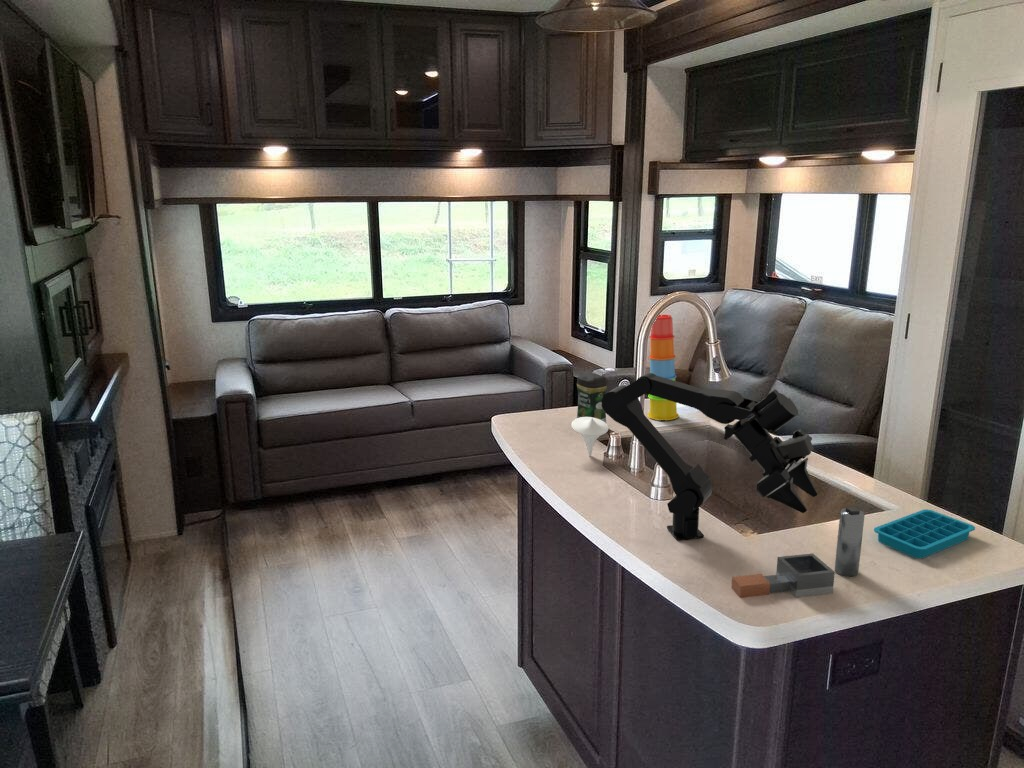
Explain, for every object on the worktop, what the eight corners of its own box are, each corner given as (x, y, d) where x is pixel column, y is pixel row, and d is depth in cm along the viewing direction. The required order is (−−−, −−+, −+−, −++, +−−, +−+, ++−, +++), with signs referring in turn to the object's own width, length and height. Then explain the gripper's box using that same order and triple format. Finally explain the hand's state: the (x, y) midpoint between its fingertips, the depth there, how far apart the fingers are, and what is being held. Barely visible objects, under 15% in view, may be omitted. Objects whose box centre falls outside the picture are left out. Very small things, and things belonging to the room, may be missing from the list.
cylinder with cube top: (830, 567, 153) (836, 505, 149) (849, 565, 153) (856, 503, 150) (842, 578, 148) (849, 514, 145) (862, 576, 149) (869, 512, 145)
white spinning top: (614, 458, 216) (615, 419, 213) (581, 464, 212) (581, 424, 209) (597, 447, 225) (597, 409, 222) (565, 452, 221) (565, 414, 218)
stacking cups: (657, 422, 247) (660, 319, 238) (642, 414, 256) (644, 314, 247) (684, 419, 250) (688, 317, 241) (668, 410, 259) (671, 312, 250)
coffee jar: (572, 427, 244) (572, 372, 239) (591, 422, 248) (591, 368, 244) (591, 435, 236) (591, 378, 231) (610, 430, 240) (611, 374, 236)
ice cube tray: (976, 539, 164) (978, 527, 163) (920, 563, 154) (921, 550, 153) (925, 520, 173) (926, 508, 173) (869, 541, 164) (870, 529, 163)
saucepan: (727, 582, 148) (728, 562, 147) (811, 573, 150) (812, 553, 149) (744, 603, 140) (746, 581, 139) (832, 593, 143) (834, 571, 142)
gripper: (777, 434, 143) (833, 499, 140) (800, 409, 158) (852, 468, 155) (734, 465, 149) (787, 528, 146) (760, 438, 164) (809, 495, 161)
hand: (810, 503), depth 152 cm, fingers open, 9 cm apart
